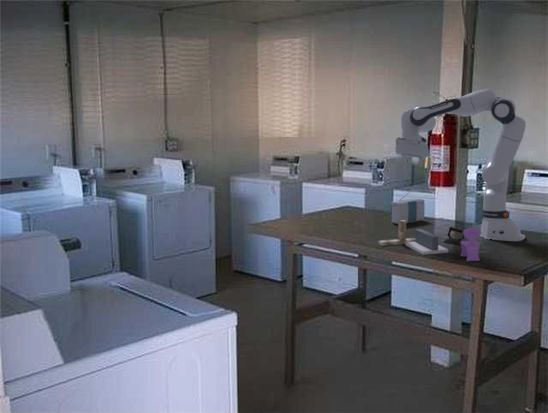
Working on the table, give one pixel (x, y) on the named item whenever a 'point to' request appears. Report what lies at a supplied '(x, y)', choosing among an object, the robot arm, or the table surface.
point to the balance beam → (401, 236)
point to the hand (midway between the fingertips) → (413, 164)
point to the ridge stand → (426, 243)
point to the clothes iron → (454, 240)
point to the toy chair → (471, 244)
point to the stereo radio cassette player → (408, 210)
